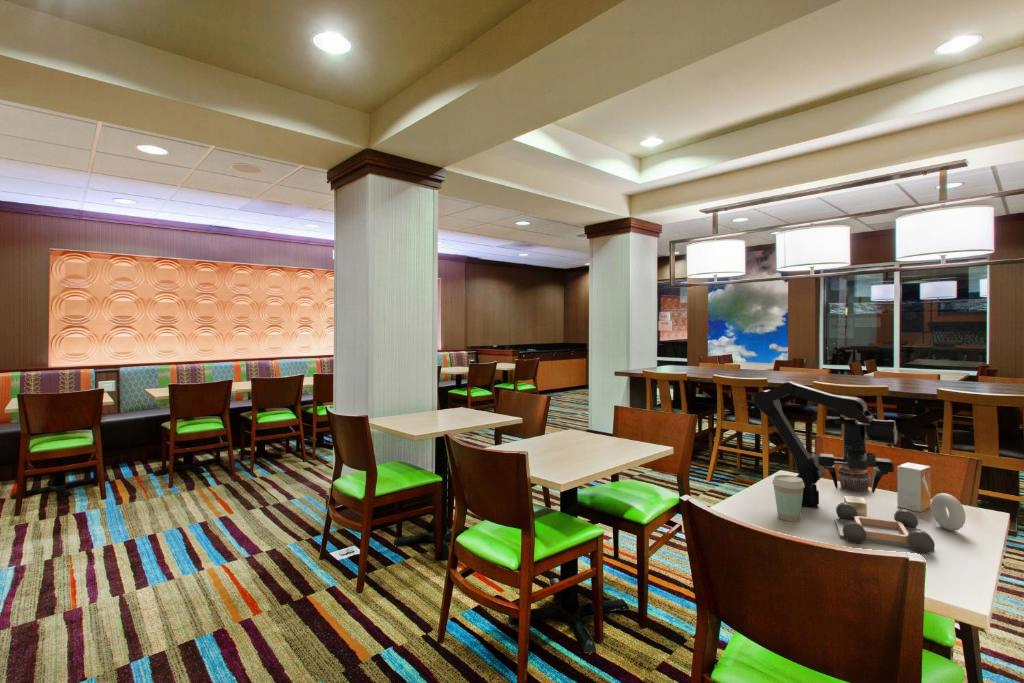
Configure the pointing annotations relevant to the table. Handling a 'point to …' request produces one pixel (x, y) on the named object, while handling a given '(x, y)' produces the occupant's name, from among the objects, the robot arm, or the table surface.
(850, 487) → the cupcake
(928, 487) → the small box
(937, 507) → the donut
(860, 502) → the tan wooden block
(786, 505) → the coffee cup
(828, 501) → the table surface
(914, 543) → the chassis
